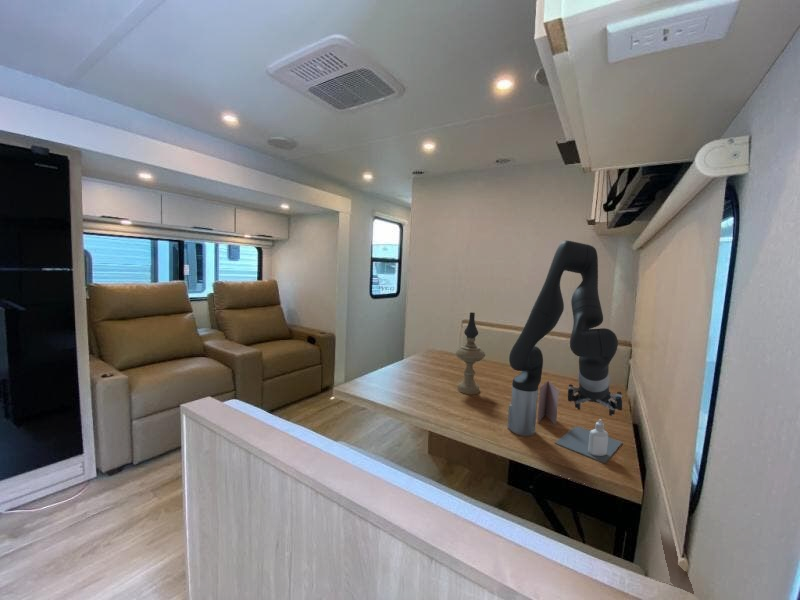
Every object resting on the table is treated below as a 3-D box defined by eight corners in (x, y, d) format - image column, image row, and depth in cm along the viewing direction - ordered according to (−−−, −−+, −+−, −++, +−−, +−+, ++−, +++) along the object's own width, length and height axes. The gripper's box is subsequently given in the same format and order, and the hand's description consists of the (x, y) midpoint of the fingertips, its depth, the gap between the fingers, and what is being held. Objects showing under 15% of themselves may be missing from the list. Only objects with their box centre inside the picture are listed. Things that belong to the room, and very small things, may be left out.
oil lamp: (451, 393, 165) (454, 313, 161) (455, 383, 179) (459, 310, 176) (482, 397, 161) (486, 315, 157) (484, 387, 175) (488, 312, 171)
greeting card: (543, 413, 145) (546, 380, 143) (562, 418, 140) (564, 384, 139) (535, 422, 136) (537, 386, 134) (554, 428, 131) (557, 391, 130)
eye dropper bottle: (607, 459, 110) (610, 424, 109) (588, 454, 112) (591, 420, 111) (606, 452, 114) (609, 419, 113) (587, 448, 116) (590, 415, 115)
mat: (554, 443, 119) (554, 442, 119) (575, 426, 133) (575, 425, 133) (604, 463, 108) (604, 462, 108) (622, 443, 121) (622, 442, 121)
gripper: (624, 373, 93) (621, 404, 103) (567, 365, 101) (570, 395, 110) (623, 396, 89) (621, 426, 98) (564, 386, 96) (567, 415, 106)
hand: (594, 410), depth 104 cm, fingers open, 8 cm apart
